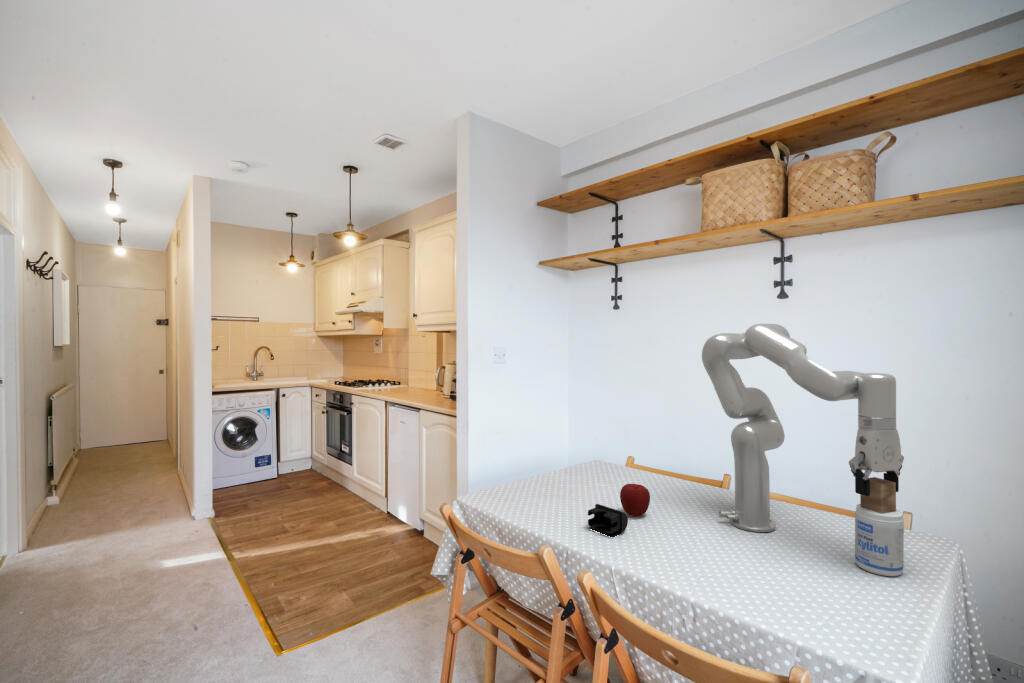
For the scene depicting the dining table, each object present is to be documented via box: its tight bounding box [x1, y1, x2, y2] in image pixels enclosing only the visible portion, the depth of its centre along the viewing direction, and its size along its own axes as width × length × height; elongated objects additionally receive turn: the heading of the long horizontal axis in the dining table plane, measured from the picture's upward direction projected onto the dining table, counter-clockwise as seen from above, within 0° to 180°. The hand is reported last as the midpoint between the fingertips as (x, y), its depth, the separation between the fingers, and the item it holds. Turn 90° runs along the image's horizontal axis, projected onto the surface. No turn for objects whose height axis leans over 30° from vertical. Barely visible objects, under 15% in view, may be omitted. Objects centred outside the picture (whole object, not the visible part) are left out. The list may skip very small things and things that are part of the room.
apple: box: [619, 483, 651, 518], centre depth 156 cm, size 10×10×10 cm
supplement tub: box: [854, 503, 905, 577], centre depth 118 cm, size 10×10×15 cm
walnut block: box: [859, 476, 897, 514], centre depth 118 cm, size 5×5×7 cm
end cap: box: [587, 503, 629, 538], centre depth 144 cm, size 10×7×7 cm
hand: (876, 492), depth 119 cm, fingers open, 9 cm apart
